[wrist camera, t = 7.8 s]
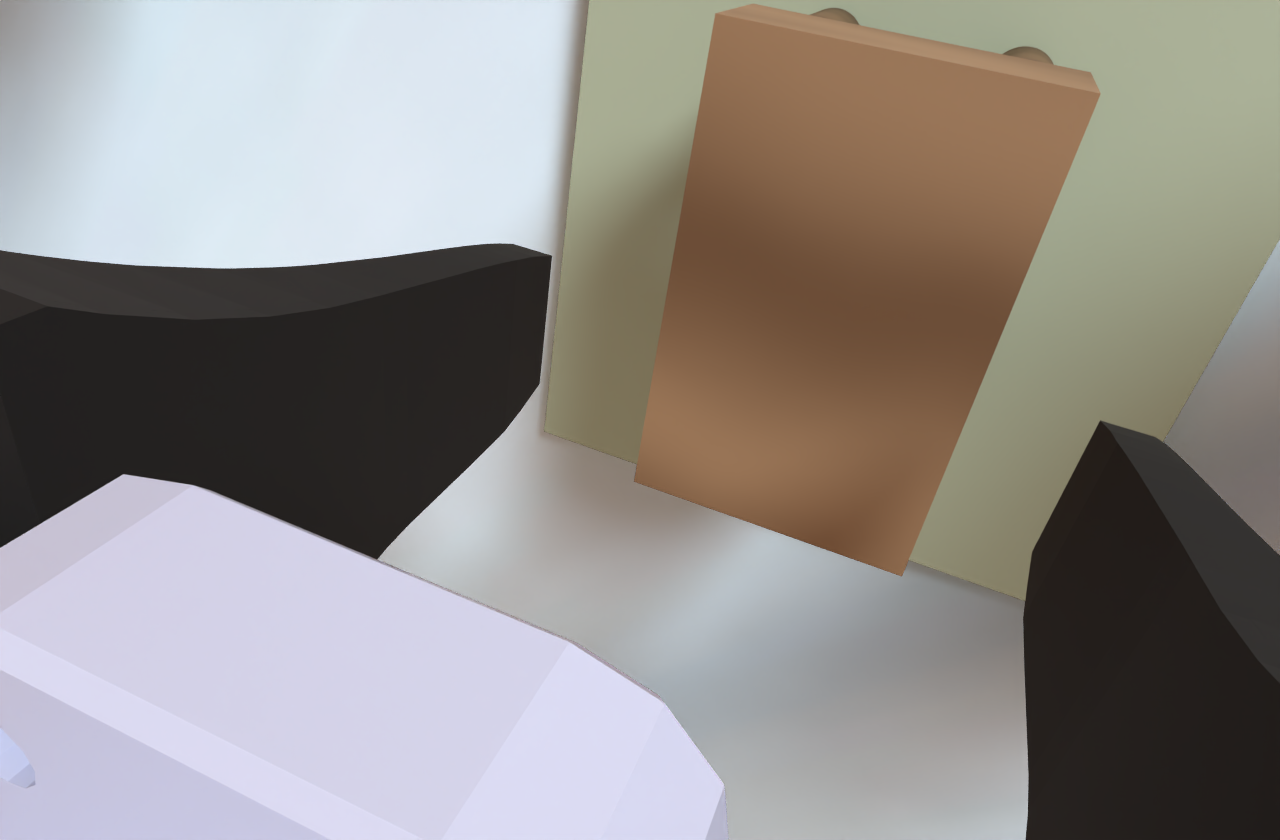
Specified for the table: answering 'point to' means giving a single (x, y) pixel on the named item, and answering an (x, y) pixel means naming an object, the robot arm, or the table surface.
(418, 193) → the table surface
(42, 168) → the table surface
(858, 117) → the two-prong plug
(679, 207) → the mat
